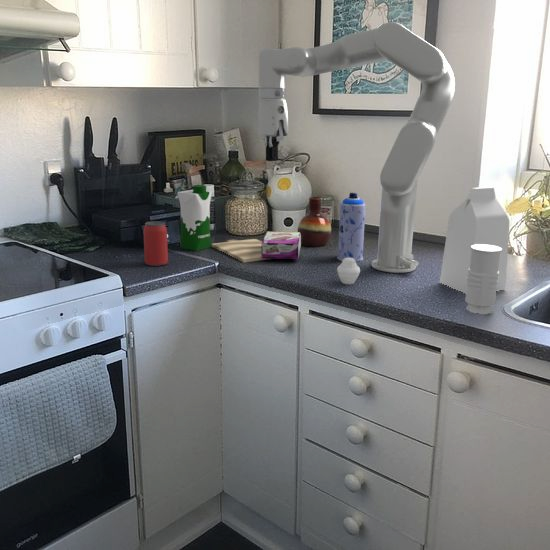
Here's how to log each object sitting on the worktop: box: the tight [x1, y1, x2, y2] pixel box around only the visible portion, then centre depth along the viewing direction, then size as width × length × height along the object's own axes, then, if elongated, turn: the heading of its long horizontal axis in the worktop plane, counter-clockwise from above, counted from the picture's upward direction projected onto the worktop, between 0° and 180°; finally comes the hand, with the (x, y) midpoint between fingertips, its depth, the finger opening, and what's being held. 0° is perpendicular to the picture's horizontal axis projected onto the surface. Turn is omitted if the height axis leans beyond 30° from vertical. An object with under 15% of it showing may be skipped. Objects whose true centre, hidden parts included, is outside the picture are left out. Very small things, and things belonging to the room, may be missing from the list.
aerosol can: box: [336, 192, 366, 263], centre depth 186 cm, size 8×8×20 cm
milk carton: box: [177, 184, 213, 252], centre depth 196 cm, size 9×9×20 cm
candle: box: [464, 244, 502, 315], centre depth 143 cm, size 7×7×15 cm
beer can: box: [142, 220, 169, 267], centre depth 178 cm, size 7×7×12 cm
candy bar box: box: [261, 230, 302, 260], centre depth 190 cm, size 11×5×16 cm
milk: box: [439, 186, 510, 295], centre depth 159 cm, size 12×12×26 cm
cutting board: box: [211, 238, 272, 263], centre depth 196 cm, size 24×16×1 cm, turn 31°
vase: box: [297, 196, 332, 247], centre depth 204 cm, size 11×11×15 cm
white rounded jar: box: [336, 257, 361, 285], centre depth 163 cm, size 6×6×7 cm
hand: (271, 160), depth 180 cm, fingers closed
